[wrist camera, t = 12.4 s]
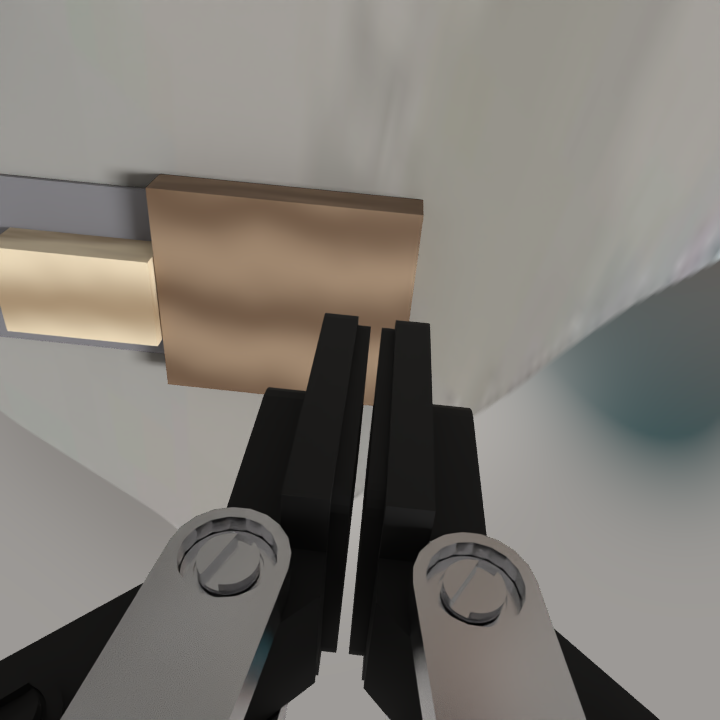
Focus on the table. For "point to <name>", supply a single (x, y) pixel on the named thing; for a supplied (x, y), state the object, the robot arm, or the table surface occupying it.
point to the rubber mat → (74, 225)
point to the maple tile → (79, 286)
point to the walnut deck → (273, 276)
